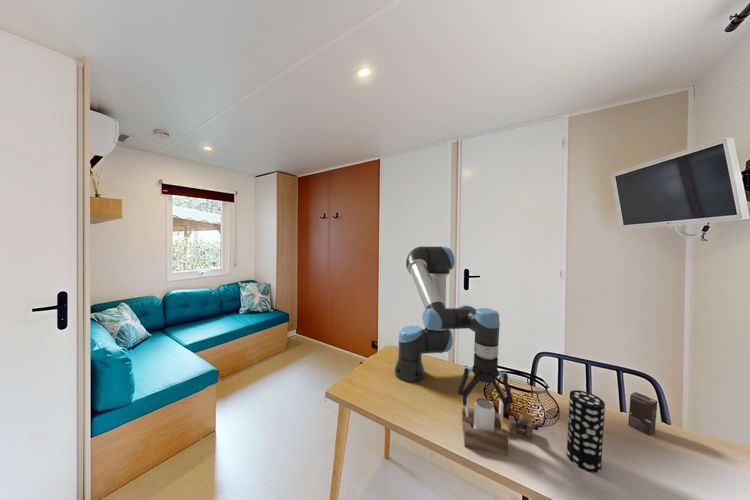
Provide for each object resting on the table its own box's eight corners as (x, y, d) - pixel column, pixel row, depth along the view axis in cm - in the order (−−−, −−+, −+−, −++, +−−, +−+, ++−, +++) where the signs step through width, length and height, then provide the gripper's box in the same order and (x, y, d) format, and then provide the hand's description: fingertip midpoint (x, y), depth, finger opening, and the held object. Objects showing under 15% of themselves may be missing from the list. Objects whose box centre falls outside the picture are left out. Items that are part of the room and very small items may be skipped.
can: (495, 445, 84) (497, 410, 84) (475, 442, 86) (476, 407, 85) (491, 431, 91) (492, 398, 90) (472, 428, 92) (473, 395, 91)
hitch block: (461, 417, 97) (462, 405, 97) (528, 430, 91) (529, 417, 91) (464, 446, 84) (465, 431, 83) (543, 463, 78) (543, 448, 77)
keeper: (516, 428, 90) (515, 423, 92) (524, 430, 90) (523, 424, 91) (522, 418, 83) (521, 412, 85) (531, 420, 83) (530, 413, 84)
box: (627, 425, 95) (629, 394, 94) (633, 421, 97) (635, 391, 96) (650, 436, 89) (652, 403, 89) (655, 433, 91) (658, 400, 91)
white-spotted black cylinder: (591, 476, 74) (595, 410, 73) (560, 454, 81) (563, 393, 80) (607, 466, 77) (610, 403, 76) (576, 446, 85) (579, 387, 84)
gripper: (451, 354, 86) (449, 418, 87) (526, 364, 80) (523, 432, 81) (451, 346, 93) (449, 404, 94) (519, 354, 88) (516, 416, 88)
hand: (483, 417), depth 88 cm, fingers open, 10 cm apart
